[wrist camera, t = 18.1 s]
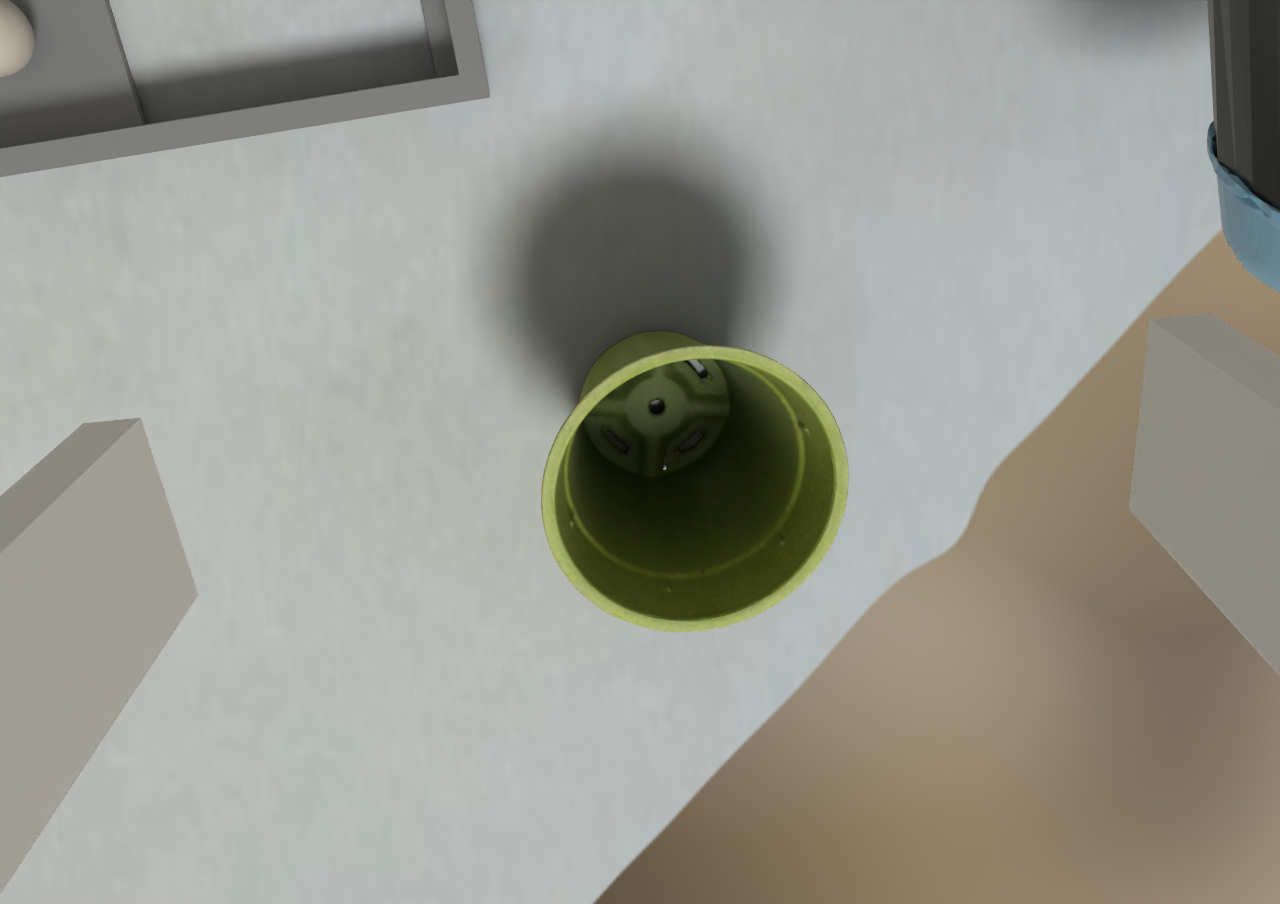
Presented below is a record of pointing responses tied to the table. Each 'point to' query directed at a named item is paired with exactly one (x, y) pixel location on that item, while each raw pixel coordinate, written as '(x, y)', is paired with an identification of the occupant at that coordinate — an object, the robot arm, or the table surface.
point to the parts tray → (115, 125)
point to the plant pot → (693, 484)
